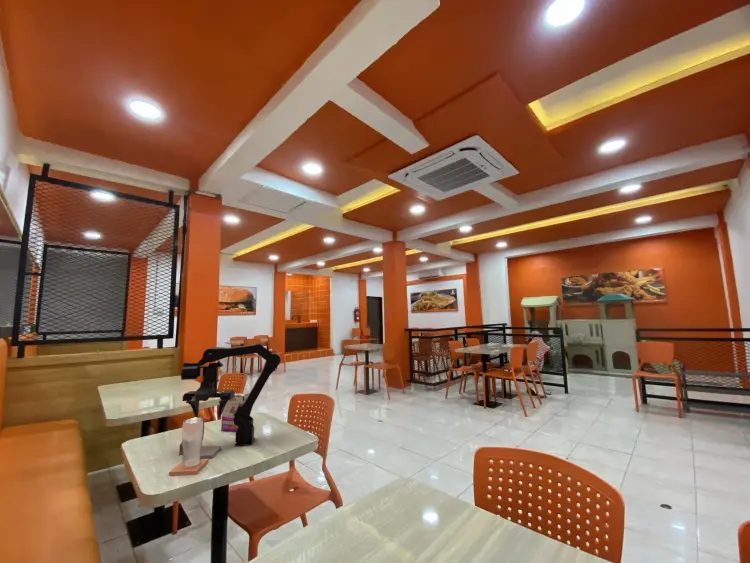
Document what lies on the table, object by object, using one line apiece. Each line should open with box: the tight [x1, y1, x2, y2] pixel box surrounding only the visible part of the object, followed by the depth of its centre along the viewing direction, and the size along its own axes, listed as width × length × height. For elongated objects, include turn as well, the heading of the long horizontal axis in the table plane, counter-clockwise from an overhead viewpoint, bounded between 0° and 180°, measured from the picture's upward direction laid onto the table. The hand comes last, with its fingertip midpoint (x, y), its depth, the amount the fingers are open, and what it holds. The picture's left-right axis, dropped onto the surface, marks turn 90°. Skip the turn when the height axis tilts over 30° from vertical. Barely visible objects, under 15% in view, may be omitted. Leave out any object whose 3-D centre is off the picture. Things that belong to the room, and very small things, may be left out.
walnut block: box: [178, 441, 183, 456], centre depth 125 cm, size 4×4×4 cm
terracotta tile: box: [168, 459, 210, 477], centre depth 111 cm, size 9×9×1 cm
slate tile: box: [200, 445, 223, 460], centre depth 123 cm, size 9×9×1 cm
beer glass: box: [181, 417, 205, 468], centre depth 113 cm, size 7×7×15 cm
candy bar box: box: [220, 392, 249, 433], centre depth 150 cm, size 11×5×16 cm, turn 81°
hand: (208, 417), depth 130 cm, fingers open, 9 cm apart
